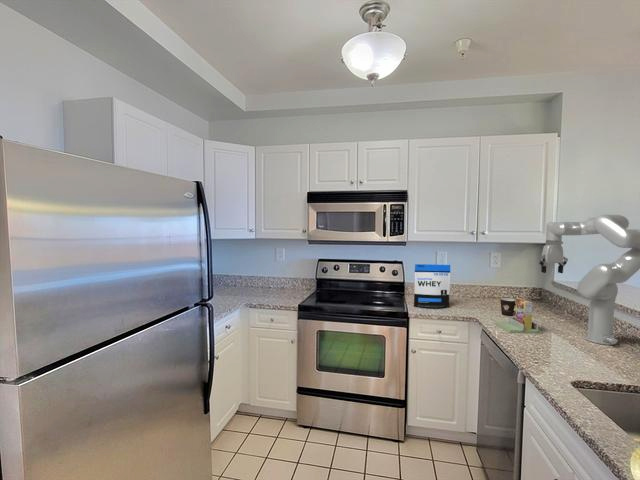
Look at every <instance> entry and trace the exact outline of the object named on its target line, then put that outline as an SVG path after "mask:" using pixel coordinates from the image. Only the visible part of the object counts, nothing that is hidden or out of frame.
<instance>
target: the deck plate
mask: <svg viewBox="0 0 640 480" xmlns="http://www.w3.org/2000/svg"><path fill="white" fill-rule="evenodd" d="M493 324H494V326H497V327H499V328H500V329H502V330H504V331H506V332H507V333H509V334H540V333H542V332H543V331H542V330H541V329H539V328H538V331H536V330H534V329H532V328H531V330H528V329H524V331H522V330H520V329H518V328H516V327H515V326H513V325H511V324H509V321H497V320H496V321H494V323H493ZM542 334H543V333H542Z"/></svg>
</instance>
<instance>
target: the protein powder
mask: <svg viewBox="0 0 640 480" xmlns="http://www.w3.org/2000/svg"><path fill="white" fill-rule="evenodd" d="M451 267H452V265H451V264H431V263H430V264H428V263H427V264H419V263H418V264H417V263H415V264H414V290H413V292H414V294H413V297H414V298H413V308H419V309H427V310H443V309H449V308H450V290H451V289H450V288H451V287H450V285H451Z"/></svg>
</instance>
